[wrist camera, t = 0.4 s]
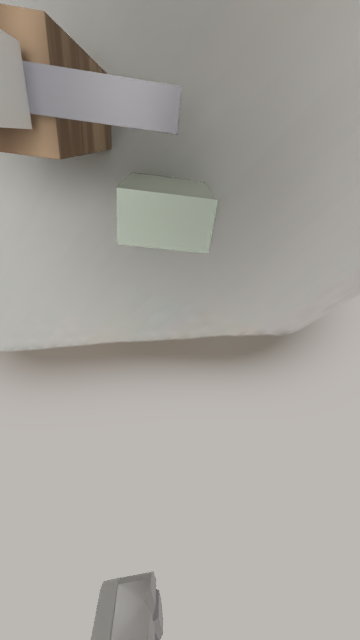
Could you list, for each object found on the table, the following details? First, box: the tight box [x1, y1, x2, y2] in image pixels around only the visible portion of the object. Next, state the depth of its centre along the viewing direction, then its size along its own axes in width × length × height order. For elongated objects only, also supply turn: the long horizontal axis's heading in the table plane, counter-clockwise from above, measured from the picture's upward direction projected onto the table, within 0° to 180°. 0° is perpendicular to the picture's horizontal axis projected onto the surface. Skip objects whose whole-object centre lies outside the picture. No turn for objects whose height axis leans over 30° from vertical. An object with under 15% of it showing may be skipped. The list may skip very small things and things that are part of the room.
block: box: [117, 173, 218, 254], centre depth 43 cm, size 12×7×16 cm, turn 83°
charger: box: [0, 29, 182, 134], centre depth 19 cm, size 17×5×7 cm, turn 83°
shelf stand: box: [0, 4, 111, 159], centre depth 30 cm, size 12×9×29 cm
